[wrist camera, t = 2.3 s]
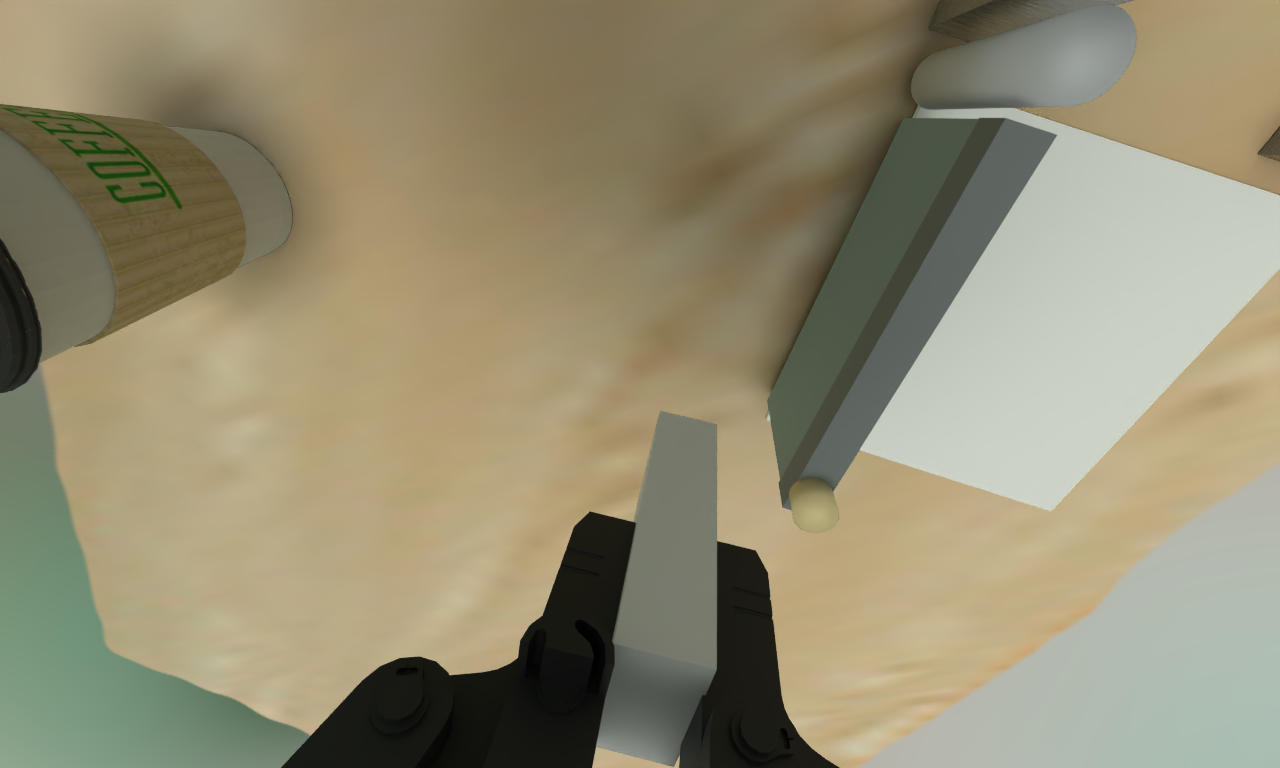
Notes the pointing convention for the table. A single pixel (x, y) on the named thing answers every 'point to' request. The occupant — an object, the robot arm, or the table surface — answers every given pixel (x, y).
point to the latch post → (1272, 147)
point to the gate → (926, 236)
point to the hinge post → (1000, 15)
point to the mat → (1077, 314)
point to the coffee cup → (118, 224)
